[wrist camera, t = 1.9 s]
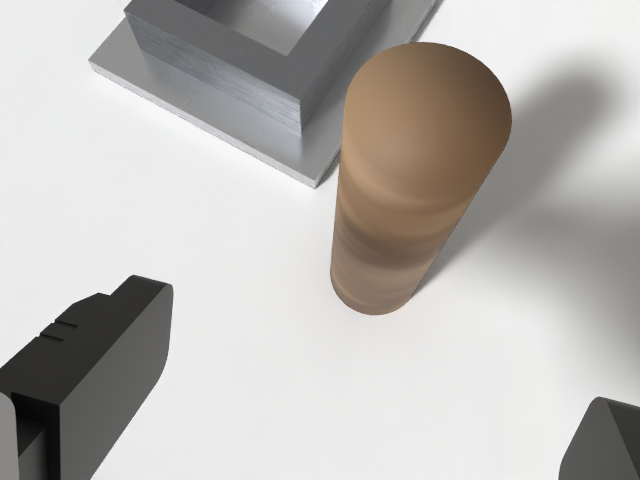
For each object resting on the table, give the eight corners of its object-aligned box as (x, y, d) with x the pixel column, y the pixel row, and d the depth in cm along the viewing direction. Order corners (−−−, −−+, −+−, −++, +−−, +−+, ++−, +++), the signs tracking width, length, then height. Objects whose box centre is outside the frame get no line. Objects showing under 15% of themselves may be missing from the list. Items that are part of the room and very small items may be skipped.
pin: (314, 287, 23) (313, 136, 12) (356, 217, 24) (392, 18, 13) (391, 331, 23) (467, 216, 12) (432, 257, 24) (537, 85, 13)
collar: (94, 71, 27) (65, 21, 24) (234, -92, 30) (225, -154, 27) (314, 189, 25) (314, 152, 22) (437, -1, 28) (452, -55, 25)
